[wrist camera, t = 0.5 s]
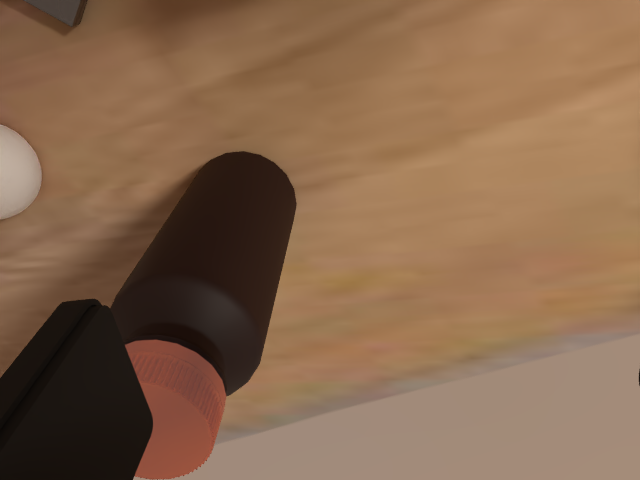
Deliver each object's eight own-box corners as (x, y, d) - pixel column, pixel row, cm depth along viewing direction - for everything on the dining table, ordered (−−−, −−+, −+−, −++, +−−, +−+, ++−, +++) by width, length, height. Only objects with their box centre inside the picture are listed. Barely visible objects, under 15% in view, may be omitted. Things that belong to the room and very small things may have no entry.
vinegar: (296, 247, 39) (243, 505, 22) (197, 241, 40) (65, 491, 22) (297, 152, 36) (237, 364, 19) (190, 146, 36) (29, 350, 19)
